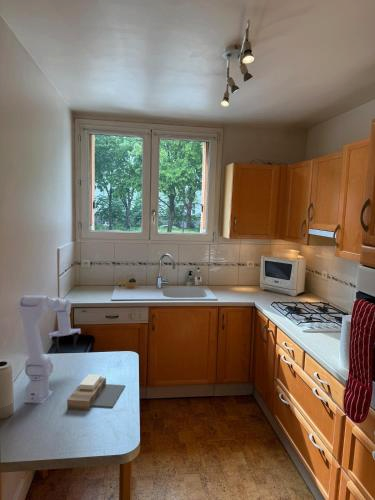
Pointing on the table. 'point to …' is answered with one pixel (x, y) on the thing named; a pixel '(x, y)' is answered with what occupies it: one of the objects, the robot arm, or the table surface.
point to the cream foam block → (90, 382)
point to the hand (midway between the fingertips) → (66, 348)
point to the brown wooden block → (85, 397)
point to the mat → (108, 396)
